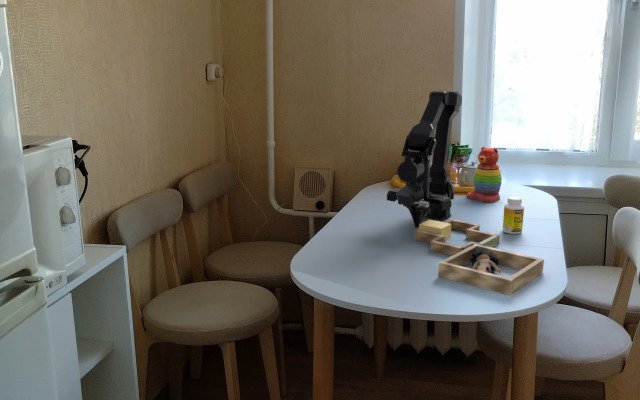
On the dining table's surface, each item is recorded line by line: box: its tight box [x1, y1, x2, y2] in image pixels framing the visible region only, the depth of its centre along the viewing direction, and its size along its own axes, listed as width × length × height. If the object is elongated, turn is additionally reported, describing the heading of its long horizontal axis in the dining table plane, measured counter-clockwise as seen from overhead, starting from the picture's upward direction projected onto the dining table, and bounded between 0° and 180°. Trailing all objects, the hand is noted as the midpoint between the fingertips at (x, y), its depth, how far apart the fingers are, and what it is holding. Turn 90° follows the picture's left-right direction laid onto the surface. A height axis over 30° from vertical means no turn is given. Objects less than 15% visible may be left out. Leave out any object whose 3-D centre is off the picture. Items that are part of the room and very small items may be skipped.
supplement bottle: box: [502, 196, 525, 235], centre depth 196 cm, size 6×6×10 cm
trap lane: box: [414, 219, 500, 256], centre depth 188 cm, size 20×23×2 cm
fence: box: [437, 244, 545, 296], centre depth 164 cm, size 18×18×4 cm
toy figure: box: [470, 246, 502, 275], centre depth 164 cm, size 7×6×15 cm
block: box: [418, 219, 452, 240], centre depth 193 cm, size 7×6×4 cm
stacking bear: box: [466, 146, 503, 204], centre depth 233 cm, size 11×10×18 cm
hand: (417, 227), depth 196 cm, fingers closed
